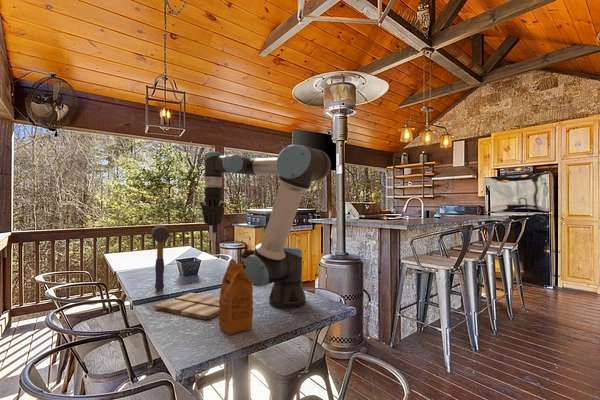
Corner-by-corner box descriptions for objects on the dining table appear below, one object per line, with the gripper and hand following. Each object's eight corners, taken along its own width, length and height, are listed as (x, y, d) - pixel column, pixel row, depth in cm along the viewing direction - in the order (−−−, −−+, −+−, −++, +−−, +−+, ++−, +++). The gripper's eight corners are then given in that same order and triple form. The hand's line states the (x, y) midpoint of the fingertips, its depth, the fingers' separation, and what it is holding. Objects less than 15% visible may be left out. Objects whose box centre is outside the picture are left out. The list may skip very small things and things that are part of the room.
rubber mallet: (169, 292, 140) (170, 226, 140) (151, 294, 137) (152, 226, 137) (166, 285, 151) (167, 224, 151) (149, 287, 148) (150, 224, 148)
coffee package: (243, 318, 111) (244, 257, 111) (255, 331, 100) (256, 263, 100) (215, 323, 106) (216, 259, 106) (225, 337, 96) (226, 266, 96)
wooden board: (238, 304, 126) (238, 299, 126) (224, 311, 118) (224, 306, 118) (190, 296, 136) (190, 291, 136) (174, 302, 128) (174, 297, 128)
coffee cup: (239, 277, 170) (239, 249, 170) (257, 276, 173) (257, 249, 173) (241, 281, 160) (241, 252, 161) (260, 280, 163) (260, 252, 163)
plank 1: (196, 306, 122) (196, 303, 122) (178, 313, 114) (178, 310, 114) (172, 302, 127) (173, 299, 127) (154, 308, 119) (154, 305, 119)
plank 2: (223, 311, 117) (223, 308, 117) (207, 319, 109) (207, 316, 109) (198, 306, 122) (198, 303, 122) (180, 314, 113) (180, 310, 113)
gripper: (195, 186, 137) (195, 239, 137) (219, 186, 132) (219, 241, 132) (207, 187, 144) (206, 238, 144) (230, 187, 139) (229, 239, 139)
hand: (212, 239), depth 138 cm, fingers closed
